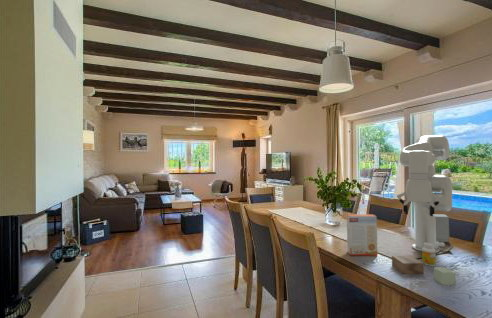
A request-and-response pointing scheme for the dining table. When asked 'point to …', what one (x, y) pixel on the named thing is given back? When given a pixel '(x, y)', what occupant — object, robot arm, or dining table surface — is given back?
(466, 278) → the dining table surface
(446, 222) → the skincare box
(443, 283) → the sage cube
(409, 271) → the walnut block
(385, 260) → the dining table surface
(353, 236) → the cracker box
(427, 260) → the supplement bottle
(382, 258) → the dining table surface
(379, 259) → the dining table surface
